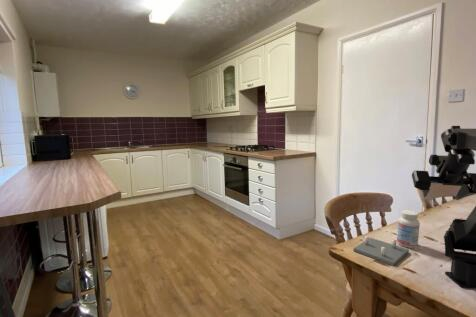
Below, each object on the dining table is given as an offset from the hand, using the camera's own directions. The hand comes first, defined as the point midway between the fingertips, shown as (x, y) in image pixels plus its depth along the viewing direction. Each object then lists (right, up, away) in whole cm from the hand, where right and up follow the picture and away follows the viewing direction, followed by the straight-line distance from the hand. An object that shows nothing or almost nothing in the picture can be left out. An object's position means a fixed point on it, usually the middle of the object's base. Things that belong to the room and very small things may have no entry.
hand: (440, 197), depth 90 cm
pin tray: (-21, -17, -3) cm, 27 cm away
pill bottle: (-10, -16, +2) cm, 19 cm away
